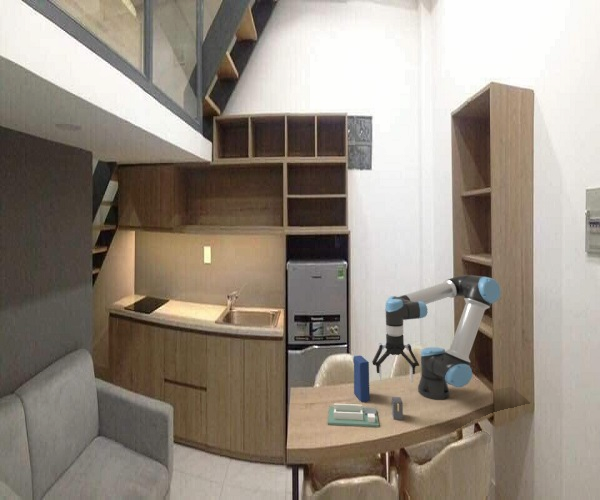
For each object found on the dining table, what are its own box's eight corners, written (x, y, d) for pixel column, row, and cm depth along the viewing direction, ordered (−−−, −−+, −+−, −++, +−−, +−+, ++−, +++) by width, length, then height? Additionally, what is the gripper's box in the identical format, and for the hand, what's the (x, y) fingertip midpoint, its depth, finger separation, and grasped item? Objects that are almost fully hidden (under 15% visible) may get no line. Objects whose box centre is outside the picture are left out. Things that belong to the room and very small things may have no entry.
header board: (376, 410, 157) (375, 401, 157) (379, 427, 143) (378, 418, 143) (329, 408, 160) (329, 400, 160) (327, 424, 146) (327, 415, 146)
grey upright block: (400, 414, 153) (400, 397, 152) (403, 421, 147) (402, 403, 146) (392, 413, 153) (391, 396, 153) (393, 421, 147) (393, 403, 147)
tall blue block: (370, 401, 165) (369, 361, 165) (360, 402, 164) (360, 362, 163) (362, 392, 175) (361, 355, 174) (353, 393, 173) (352, 356, 173)
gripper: (421, 331, 151) (422, 377, 152) (366, 331, 155) (367, 375, 156) (425, 336, 144) (426, 384, 145) (366, 336, 147) (368, 383, 148)
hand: (395, 380), depth 150 cm, fingers open, 13 cm apart
